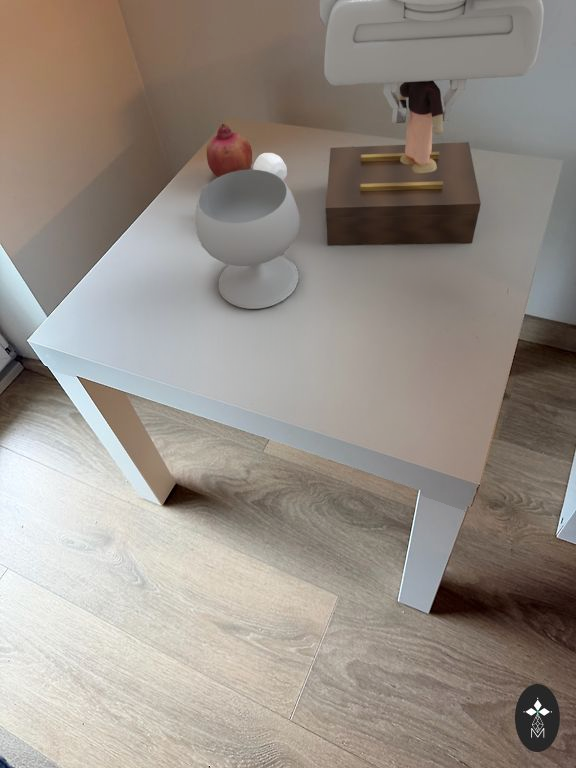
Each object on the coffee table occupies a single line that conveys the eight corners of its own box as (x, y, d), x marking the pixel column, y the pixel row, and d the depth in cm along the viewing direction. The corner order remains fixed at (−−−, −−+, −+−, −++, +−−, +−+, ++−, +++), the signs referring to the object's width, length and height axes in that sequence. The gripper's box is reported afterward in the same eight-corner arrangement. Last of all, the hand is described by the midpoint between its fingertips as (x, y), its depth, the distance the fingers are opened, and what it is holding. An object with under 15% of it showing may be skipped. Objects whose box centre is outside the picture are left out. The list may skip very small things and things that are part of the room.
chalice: (194, 292, 81) (166, 207, 69) (252, 240, 87) (236, 153, 75) (266, 329, 75) (249, 244, 63) (323, 270, 81) (318, 182, 69)
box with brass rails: (461, 181, 91) (469, 137, 85) (472, 243, 82) (482, 198, 75) (331, 185, 94) (330, 142, 88) (327, 245, 85) (325, 203, 78)
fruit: (203, 186, 97) (189, 133, 89) (227, 162, 101) (216, 109, 93) (240, 195, 95) (230, 142, 87) (263, 171, 98) (255, 117, 90)
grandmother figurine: (452, 167, 61) (474, 46, 50) (428, 182, 60) (446, 61, 49) (403, 141, 65) (414, 23, 54) (380, 154, 63) (387, 36, 53)
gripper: (316, -14, 46) (321, 139, 57) (566, -33, 44) (522, 131, 55) (319, -40, 50) (324, 109, 61) (551, -59, 47) (512, 100, 59)
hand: (419, 119), depth 58 cm, fingers closed on grandmother figurine, 3 cm apart
